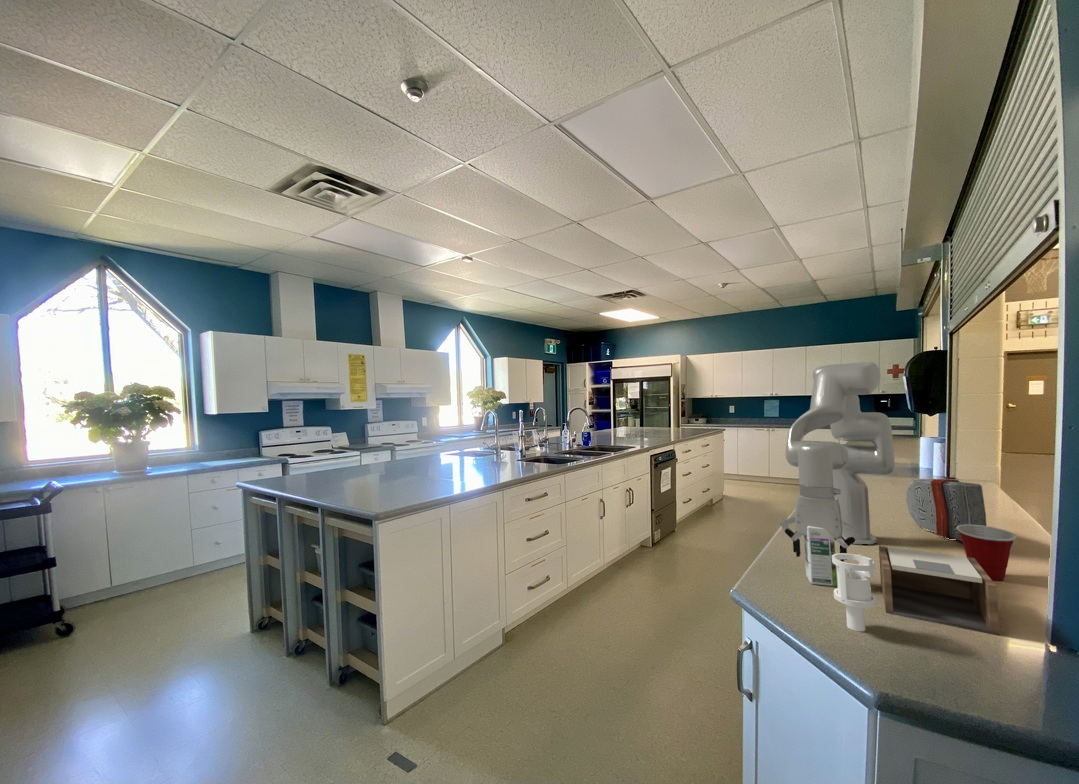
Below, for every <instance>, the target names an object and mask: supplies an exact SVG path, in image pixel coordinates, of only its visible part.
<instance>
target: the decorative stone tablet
mask: <svg viewBox="0 0 1079 784" xmlns="http://www.w3.org/2000/svg"><path fill="white" fill-rule="evenodd" d="M906 505H907V506H906V507H907V510H908V514H909V515H910V517H911V518H912V520H913V522H914V523H915V524H916V526H918V525H919V527H920V526H921V527H923V528H925V529H928V530H930V531H933V532H935V533H934V534H936V533H937V534H936V535H938V536H939V535H940V536H943V537H946V538H949V539H956V540H960V541H959V542H962V539H961V536H960V533H959V531H958V530H957V529H956V527H957V526H959V525H982V526H988V525H987V514H986V513H987V512H986V507H985V498H984V491H983V485H982V484H980V483H973V482H964V481H959V480H958V479H951V478H942V479H941V478H918V479H917V478H915V479H912V481H911V482H909V485H908V487H907V489H906ZM921 527H920V528H921ZM923 528H922V529H923ZM940 536H939V537H940Z"/></svg>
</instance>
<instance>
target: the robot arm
mask: <svg viewBox="0 0 1079 784" xmlns="http://www.w3.org/2000/svg"><path fill="white" fill-rule="evenodd" d="M812 379H813V385H812V386H813V387H812V391H811V399H810V406H809V409H808V410H807V411H806V412H805V413H804V412H803V414H802V415H800V416H799V417H798V418H797V419H796V420H795V421H794V422H793V423H792V425H791V426H790V428H789V430H788V434H787V439H786V444H785V459H786V461H787V463H788V464H789V465H790V466H792V467H795V468H798V484H799V486H798V487H799V488H798V489H799V494H797V495H796V499H795V507H794V508H795V511H794V516H791V517H790V518H786V519H784V520H781V521H780V522H779V523H780V527H781V528H782V529H783V531H784V533H785V534H786V535H787V536H788V537H789V538H790V540H791V541H792V550H793V553H795V556H796V557H797V558H799V557H800V556H801V540H800V537H802V535H803V536H804V535H807V527H808V526H812V527H818V528H823V529H826V530H827V532H828V533H829V534H830V535H831V536H832V537H833V538H834V540H835V539H836V541H837V543H838V544H839V553H846V554H848V547H849V546H851V545H862V544H868V545H874V543H875V544H876V543H878V538H877V537H876V536H875V535H872V534H871V520H870V518H871V517H870V502H869V488H868V484H867V483H866V482H865V481H864V479H862V477H861V476H859V474H863V475H864V474H865V475H875V476H876V475H877V476H878V475H879V476H881V475H882V476H888V475H891V474H892V473H893V472H894V470H895V463H896V462H895V453H894V452H895V451H894V437H893V430H892V423H891V420H890V418H889V417H888V415H886V414H885V413H882V412H879V411H878V412H876V411H874V412H873V411H871V412H862V411H861V405H860V398H859V395H861V396H862V395H863V396H865V395H867V396H868V395H870V394H872V393H873V392H874V391H875V390H876V389H877V388H878V387H879V385H880V382H881V370H880V368H879V366H878V365H877V364H876V363H875V362H872V361H865V362H851V363H837V364H836V363H835V364H826V365H821V366H818V367H816V368H814V369H813V372H812ZM827 426H829V427H830V431H831V435H832V437H833V438H834V439H835V440H838V441H843V442H864V443H865V442H866V443H868V442H869V443H872V444H860V443H859V444H857V443H840V442H836V441H823V440H822V441H819V440H803V438H804V437H805V436H806V435H808V434H809V433H811V432H813V431H816V430H819V429H820V428H825V427H827ZM791 524H795V525H794V527H795V532H794V531H792V529H790V528H789V525H791ZM852 543H853V544H852ZM840 561H842V562H845V561H848V559H840Z"/></svg>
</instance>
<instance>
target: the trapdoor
mask: <svg viewBox="0 0 1079 784" xmlns="http://www.w3.org/2000/svg"><path fill="white" fill-rule="evenodd" d="M886 547H887V549H888V554H889V558H890V562H891V566H892V569H894V570H900V571H906V572H913V573H919V574H926V575H932V576H939V577H945V578H952V579H958V580H965V581H971V582H978V583H982V578H981V576H980V575H979V574H978V572H977V571H976V569H975V568H974V567H973V565H972V564H971V563H970V561H969V560H968V559H967V556H959V555H958V556H957V555H953V554H952V555H950V554H944V553H943V554H942V553H936V552H929V551H922V550H913V549H907V548H899V547H898V548H897V547H891V546H886Z"/></svg>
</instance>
